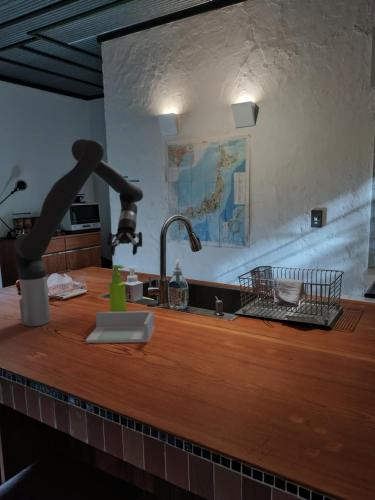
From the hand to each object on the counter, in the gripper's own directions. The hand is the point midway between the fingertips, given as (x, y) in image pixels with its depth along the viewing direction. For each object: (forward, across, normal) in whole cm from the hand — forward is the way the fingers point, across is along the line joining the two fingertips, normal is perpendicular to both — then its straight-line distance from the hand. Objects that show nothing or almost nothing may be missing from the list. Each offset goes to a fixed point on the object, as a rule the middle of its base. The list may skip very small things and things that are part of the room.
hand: (123, 254), depth 155 cm
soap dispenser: (+24, 0, +8) cm, 25 cm away
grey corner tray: (+37, +5, -6) cm, 38 cm away
